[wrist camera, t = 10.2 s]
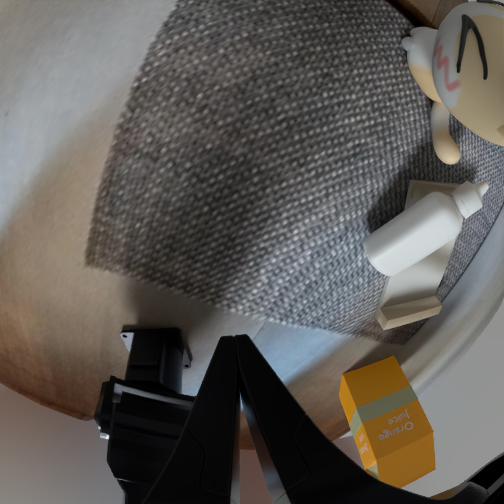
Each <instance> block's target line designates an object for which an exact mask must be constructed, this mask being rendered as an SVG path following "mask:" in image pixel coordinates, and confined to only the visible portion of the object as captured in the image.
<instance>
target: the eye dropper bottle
mask: <svg viewBox="0 0 504 504" xmlns="http://www.w3.org/2000/svg"><path fill="white" fill-rule="evenodd" d="M488 188H489V187H488V185H487V183H486V182H485V181H482V182H480V183H478V184H472V183H470V182H469V181H465V182H464V183H463V184H462V185H460V186H459V187H458V188H456V189H455V190H454V191H452V192H451V195H452V197H450V196H449V195H446V194H443V193H441V192H431V193H429V194H427V195H426V196H424V197H423V198H422V199H420V200H419V201H417V202H416V203H414V204H413V205H412V206H410V207H409V208H407V209H406V210H405V211H403V212H402V213H400V214H399V215H397V216H396V217H395V218H393V219H392V220H390V221H389V222H387V223H386V224H385V225H383V226H382V227H380V228H379V229H377V230H376V231H374V232H373V233H371V234H370V235H368V236H367V237H366V238H364V240H363V246H364V249H365V251H366V254H367V257H368V259H369V261H370V263H371V264H372V265H373V266H374V267H375V268H376V269H377V270H378V271H379V272H381V273H382V274H384V275H386V276H394V275H396V274H398V273H400V272H402V271H403V270H405V269H407V268H408V267H410V266H412V265H413V264H415V263H417V262H418V261H420V260H422V259H423V258H425V257H426V256H428V255H430V254H431V253H433V252H434V251H436V250H437V249H439V248H440V247H442V246H443V245H445V244H446V243H448V242H449V241H451V240H452V239H454V238H455V237H456V236H457V235H458V234H459V233H460V230H461V227H462V221H463V218H462V217H463V216H464V217H465V219H466V218H468V217H469V216H470V215H472V214H473V213H475V212H476V211H477V210H479V209H480V208H481V207H482V196H483V194H484V193H485V192H486V191H487V190H488Z"/></svg>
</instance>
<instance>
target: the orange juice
mask: <svg viewBox="0 0 504 504" xmlns="http://www.w3.org/2000/svg"><path fill="white" fill-rule="evenodd" d="M339 398H340V401H341V403H342V406H343V409H344V411H345V414H346V417H347V420H348V422H349V426H350V429H351V432H352V434H353V437H354V439H355V442H356V445H357V448H358V451H359V453H360V456H361V459H362V462H363V465H364V468H365V470H366V472H367V473H369V474H370V475H372V476H373V477H375V478H376V479H378V480H380V481H382V482H384V483H387V484H390V485H392V486H395V487H398V488H401V487H403V486H405V485H407V484H409V483H411V482H413V481H415V480H417V479H419V478H421V477H422V476H424V475H426V474H428V473H429V472H431V471H433V470H435V453H434V440H433V430H432V428H431V426H430V424H429V421H428V419H427V417H426V415H425V413H424V411H423V409H422V407H421V405H420V403H419V401H418V398H417V396H416V394H415V392H414V391H413V389H412V387H411V385H410V384H409V382H408V380H407V378H406V376H405V374H404V373H403V371H402V369H401V367H400V365H399V364H398V362H397V360H396V358H395V356H394V355H393V356H391V357H388V358H386V359H383V360H381V361H378V362H375V363H373V364H370V365H367V366H365V367H362V368H359V369H356V370H353V371H350V372H347V373H344V374H343V375H342V380H341V386H340V391H339Z"/></svg>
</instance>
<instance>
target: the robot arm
mask: <svg viewBox="0 0 504 504" xmlns="http://www.w3.org/2000/svg"><path fill="white" fill-rule="evenodd" d="M120 336H121V338H122V340H123V342H124V344H125V346H126V348H127V350H128V351H129V358H128V363H127V369H126V374H125V380H122V379H119V378H116V377H115V376H112V375H111V377H110V381H107V382H103V383H102V388H101V393H100V397H99V400H98V404H97V407H96V411H95V415H94V420H95V421H96V423H97V424H98V426H99V430H100V438H102V439H105V440H108V451H107V463H108V465H109V467H110V468H111V471H112V473H113V475H114V477H115V478H116V479H117V481H118V483H119V485H120V486H121V488H122V490H123V504H240V409H241V402H240V395H241V400H242V404H243V408H244V411H245V415H246V419H247V422H248V426H249V429H250V433H251V436H252V439H253V443H254V446H255V449H256V453H257V456H258V459H259V462H260V466H261V469H262V472H263V475H264V478H265V481H266V484H267V487H268V490H269V493H270V496H271V499H272V502H273V504H504V452H503V453H502V454H500V455H498V456H497V457H495V458H494V459H493V460H491V461H490V462H489V463H487V464H486V465H485V466H483V467H482V468H480V469H479V470H478V471H477V472H475V473H474V474H473V475H472V476H470V477H469V478H468V479H467V480H465V481H464V482H463V483H461V484H460V485H458V486H456V487H454V488H452V489H449V490H447V491H444V492H442V493H439V494H437V495H434V496H431V497H425V496H422V495H418V494H415V493H412V492H409V491H406V490H403V489H400V488H398V487H395V486H392V485H390V484H387V483H384V482H382V481H380V480H378V479H376V478H375V477H373V476H372V475H370V474H369V473H367V472H366V471H365V470H363V469H362V468H361V467H360V466H359V465H357V464H356V463H355V462H354V461H353V460H351V459H350V458H349V457H348V456H347V455H346V454H345V453H343V452H342V451H341V450H340V449H339V448H338V447H337V446H336V445H334V443H333V442H332V441H331V440H330V439H328V438H327V437H326V436H325V434H324V433H323V432H322V431H321V430H320V429H319V428H318V426H317V425H316V424H315V423H314V422H313V421H312V419H311V418H310V417H309V416H308V415H306V412H305V411H304V409H303V408H302V407H301V406H300V404H299V403H298V402H297V400H296V399H295V398H294V397H293V395H292V394H291V393H290V391H289V390H288V389H287V388H286V386H285V385H284V384H283V382H282V381H281V380H280V378H279V377H278V376H277V374H276V373H275V372H274V370H273V369H272V368H271V366H270V365H269V364H268V362H267V361H266V359H265V358H264V357H263V355H262V354H261V353H260V351H259V350H258V348H257V347H256V346H255V344H254V343H253V341H252V340H251V339H250V337H249V336H248V335H247V334H242V335H235V337H233V336H222V337H220V339H219V342H218V344H217V347H216V349H215V351H214V354H213V356H212V359H211V361H210V364H209V366H208V369H207V371H206V374H205V376H204V379H203V381H202V384H201V386H200V389H199V391H198V394H197V396H189V395H184V394H182V369H187V368H190V367H191V361H190V358H189V355H188V352H187V349H186V346H185V343H184V339H183V336H182V333H181V330H180V329H178V328H168V329H145V330H122V331H121V334H120Z"/></svg>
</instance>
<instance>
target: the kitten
mask: <svg viewBox="0 0 504 504" xmlns="http://www.w3.org/2000/svg"><path fill="white" fill-rule="evenodd" d="M493 3H494V4H493ZM496 4H499V5H501V6H499V5H496ZM502 6H503V7H502ZM410 36H411V37H405V38H403V39H402V40H401V44H402V46H403V48H404V49H405V50H406V51H407V62H408V67H409V70H410V72H411V74H412V76H413V77H414V79H415V81H416V82H417V84H418V85H419V87H420V88H421V89H422V91H423V92H424V93H425V94H426V95H427V96H428V97H429V98H430V99H432V100H434V103H433V106H432V109H431V128H432V138H433V146H434V150H435V152H436V154H437V156H438V157H439V159H440V160H441V161H443V162H444V163H446V164H455V163H456V162H458V161H459V159H460V150H459V148H458V146H457V144H456V143H455V141H454V140H453V139H452V137H451V136H450V134H449V131H448V124H449V115H450V113H451V114H452V115H453V116H454V117H455V118H456V119H457V120H458V121H460V122H461V123H462V124H463V125H465V126H466V127H467V128H468V129H470V130H471V131H473V132H474V133H475V134H477V135H478V136H480V137H481V138H483V139H485V140H487V141H489V142H492V143H494V144H497V145H500V146H504V4H503V3H501V2H497V1H493V0H477V2H466V3H463V4H460V5H458V6H456V7H454V8H453V9H452V10H451V11H450V12H449V13H448V14H447V16H446V17H445V18H444V19H443V21H442V22H441V24H440V26H439V28H438V30H436V29H431V28H429V27H418V28H414V29H412V30H411V31H410Z"/></svg>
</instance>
